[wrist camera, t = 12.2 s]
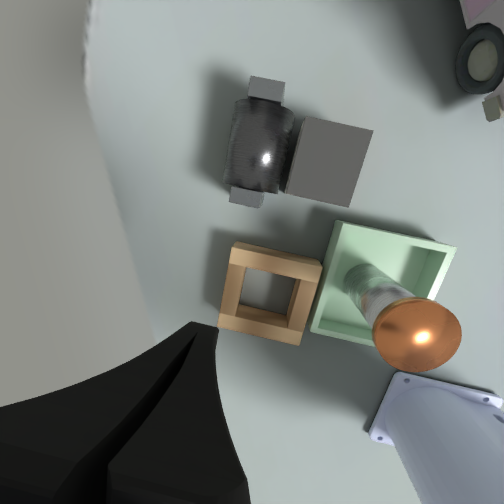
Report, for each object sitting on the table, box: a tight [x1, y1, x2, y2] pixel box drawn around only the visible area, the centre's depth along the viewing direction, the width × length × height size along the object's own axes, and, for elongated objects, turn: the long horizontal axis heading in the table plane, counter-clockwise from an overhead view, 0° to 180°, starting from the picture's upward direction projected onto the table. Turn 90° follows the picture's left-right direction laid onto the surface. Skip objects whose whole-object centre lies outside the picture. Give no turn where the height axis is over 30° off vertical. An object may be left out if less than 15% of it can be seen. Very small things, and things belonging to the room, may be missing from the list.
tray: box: [307, 220, 457, 347], centre depth 19 cm, size 8×9×2 cm
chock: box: [284, 116, 373, 208], centre depth 16 cm, size 4×4×4 cm
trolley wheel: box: [223, 76, 295, 208], centre depth 16 cm, size 4×7×4 cm, turn 168°
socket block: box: [217, 241, 323, 346], centre depth 20 cm, size 7×7×2 cm
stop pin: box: [343, 264, 462, 372], centre depth 16 cm, size 4×4×8 cm
